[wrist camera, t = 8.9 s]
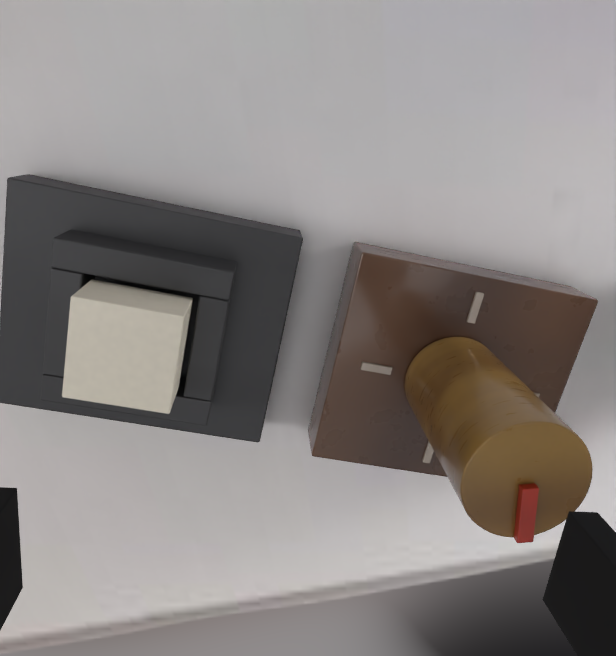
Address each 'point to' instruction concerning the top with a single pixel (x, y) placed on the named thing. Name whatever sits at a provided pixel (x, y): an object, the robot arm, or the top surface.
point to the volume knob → (496, 440)
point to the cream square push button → (125, 346)
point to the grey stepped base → (152, 274)
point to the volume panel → (423, 329)
